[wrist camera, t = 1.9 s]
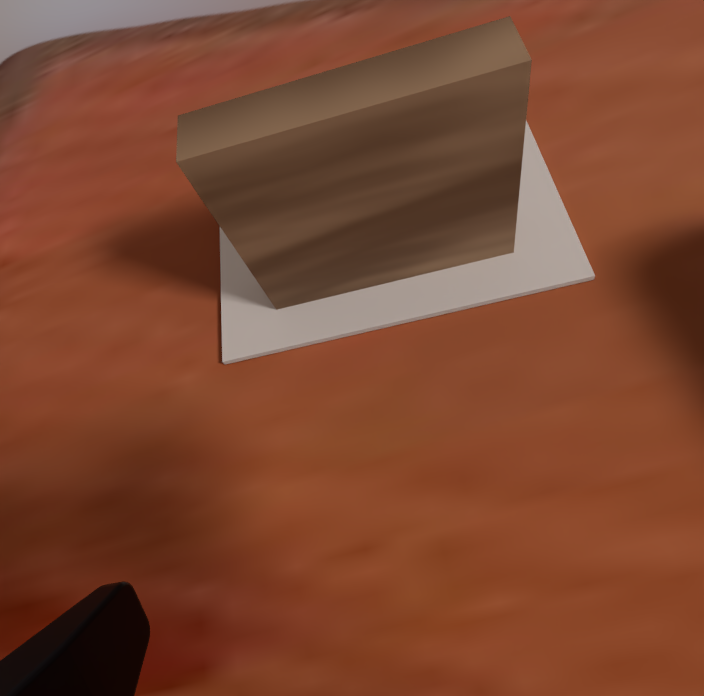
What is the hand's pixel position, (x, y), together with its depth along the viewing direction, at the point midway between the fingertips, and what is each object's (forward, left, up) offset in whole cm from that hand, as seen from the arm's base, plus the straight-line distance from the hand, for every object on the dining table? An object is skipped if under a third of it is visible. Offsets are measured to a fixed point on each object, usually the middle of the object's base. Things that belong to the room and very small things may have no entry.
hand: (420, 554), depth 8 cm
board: (+14, +6, -13) cm, 20 cm away
